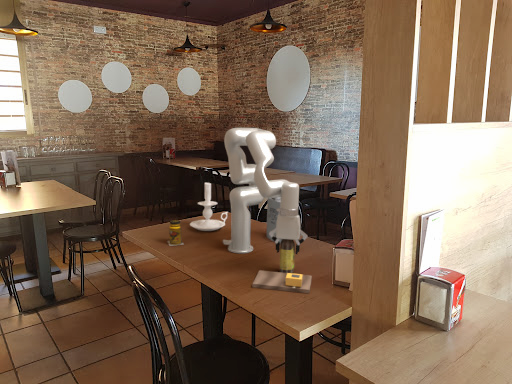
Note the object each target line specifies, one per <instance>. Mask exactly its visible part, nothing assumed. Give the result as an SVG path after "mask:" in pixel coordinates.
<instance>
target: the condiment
mask: <svg viewBox="0 0 512 384" xmlns="http://www.w3.org/2000/svg"><path fill="white" fill-rule="evenodd" d="M168 229H169V231H168V232H169V233H168V234H169V239H168V240H167V241H166V242H167V243H168V245H169V246H170V247H171V246H172V247H173V246H182V245H184V242H183V241H182V225H181V221H180V220H178V219H173V220H170V221H169V228H168Z"/></svg>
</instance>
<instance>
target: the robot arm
mask: <svg viewBox="0 0 512 384" xmlns="http://www.w3.org/2000/svg"><path fill="white" fill-rule="evenodd" d="M224 134H225V135H224V147H225V150H226V155H227V158H228V166H229V167H228V168H229V176H230V180H231V182H232V183H233V184H235V185H245V184H248V186H238V187H235V188H233V189H232V190H231V191H230V192H229V203H230V215H231V218H230V220H231V222H230V225H231V226H230V227H231V228H230V230H231V231H230V232H231V233H230V239H228V240H227V239H222V243H223V245H225V246H227V251H229V252H230V253H235V254H249V253H251V252H252V251H253V250H254V247H253V245H251V226H252V223H251V222H252V220H251V218H252V217H251V216H252V215H251V212H250V211H249V209H248V207H249V206H250V207H251V206H257V205H260V204H261V203H263V201H264V199H268V198H276V197H281V198H280V200H281V201H280V208H279V209H277V212H279V213H280V214H279V215H278V217H277V224H276V228H275V229H274V230H272V231H271V232H270V233H269V235H270V236H271V238H272V239H273V240H274V241H273V242H274V243H275V251H276V253H278V254H279V253H280V242H279V240H280V239H287V240H293V241H294V242H295V243H296V244H295V255H298V253H299V252H300V250H301V249H300V246H301V244H303V243H304V242H305V241H306V239H307V238H308V234H307V233H305V232H304V231H303V230H302V229H301V218H300V215H299V201H300V200H299V199H300V197H299V196H300V184H298V183H297V182H291V181H289V180H287V179H273V180H272V179H271V180H268V178H267V176H266V174H265V169H267V167H269V166H270V165H271V164H272V163H273V162H274V161H275V160H274V159H275V157H274V155H273V153H272V150H273V148H275V147H276V144H277V138H276V135H275V134H274V133H273V132H271V131H270V130H265V129H261V128H259V127H233V128H230V129H228V130H227V131H226V132H225V133H224ZM242 146H246V147H247V148H248V150H249V152H250V155H251V157H252V159H253V161H254V163H247V156H246V154H245V152H244V150H243V149H242ZM275 232H276V237H275V236H274V235H273V234H274V233H275ZM301 236H302V237H301ZM300 237H301V238H300Z"/></svg>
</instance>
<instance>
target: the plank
mask: <svg viewBox="0 0 512 384" xmlns="http://www.w3.org/2000/svg"><path fill="white" fill-rule="evenodd" d="M286 276H287V273H281V272H280V271H279V272H278V271H269V270H258V272H257V275H256V276H255V278H254V280H253V281H252V285H251V286H252V288H254V289H256V288H257V289H265V290H273V291H280V292H281V291H283V292H292V293H299V294H300V293H301V294H310V291H311V285H312V279H313V277H312V276H313V275H310V274H303V277H302V285H301V287H298V286H289V285H286Z"/></svg>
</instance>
